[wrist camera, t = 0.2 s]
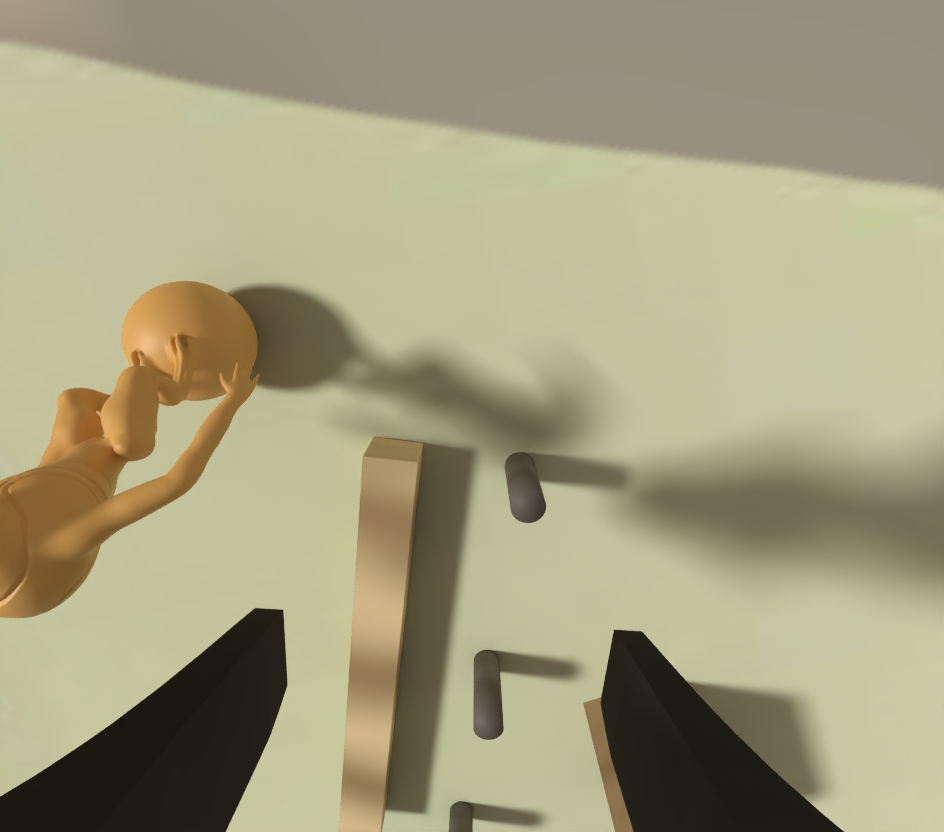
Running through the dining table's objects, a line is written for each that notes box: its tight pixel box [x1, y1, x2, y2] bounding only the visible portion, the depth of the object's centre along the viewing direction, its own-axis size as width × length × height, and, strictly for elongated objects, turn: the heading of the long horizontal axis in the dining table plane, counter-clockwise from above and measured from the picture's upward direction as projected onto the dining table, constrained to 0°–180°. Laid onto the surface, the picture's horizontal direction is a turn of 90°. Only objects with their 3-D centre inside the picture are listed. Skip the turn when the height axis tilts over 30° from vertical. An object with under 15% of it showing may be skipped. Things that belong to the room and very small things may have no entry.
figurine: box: [0, 281, 260, 618], centre depth 13 cm, size 8×6×12 cm
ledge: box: [339, 437, 546, 832], centre depth 21 cm, size 21×7×4 cm, turn 173°
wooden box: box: [583, 698, 633, 832], centre depth 22 cm, size 7×4×6 cm, turn 23°
